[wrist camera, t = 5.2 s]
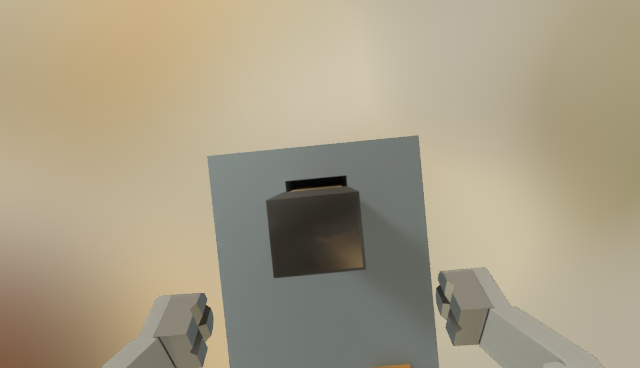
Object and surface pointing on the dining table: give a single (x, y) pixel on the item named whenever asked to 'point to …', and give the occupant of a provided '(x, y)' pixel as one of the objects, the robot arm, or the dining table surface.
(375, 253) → the cabinet
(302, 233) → the lever
